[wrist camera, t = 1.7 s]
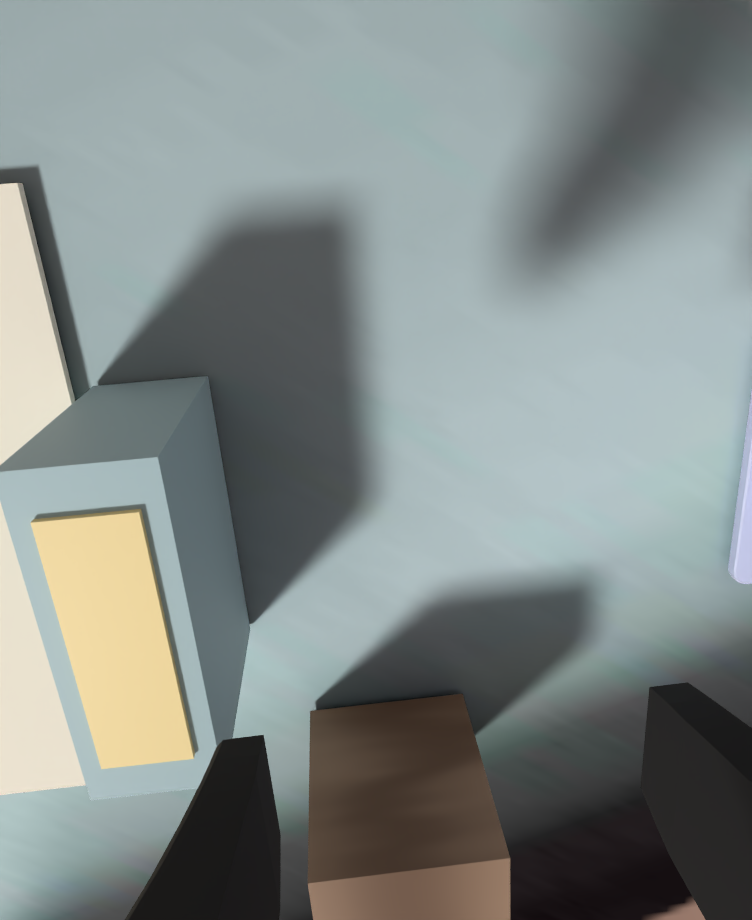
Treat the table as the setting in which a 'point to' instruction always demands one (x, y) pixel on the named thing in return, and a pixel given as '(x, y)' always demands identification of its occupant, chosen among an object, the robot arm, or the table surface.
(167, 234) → the table surface
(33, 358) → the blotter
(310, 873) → the walnut bookend
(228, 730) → the blue-grey box
